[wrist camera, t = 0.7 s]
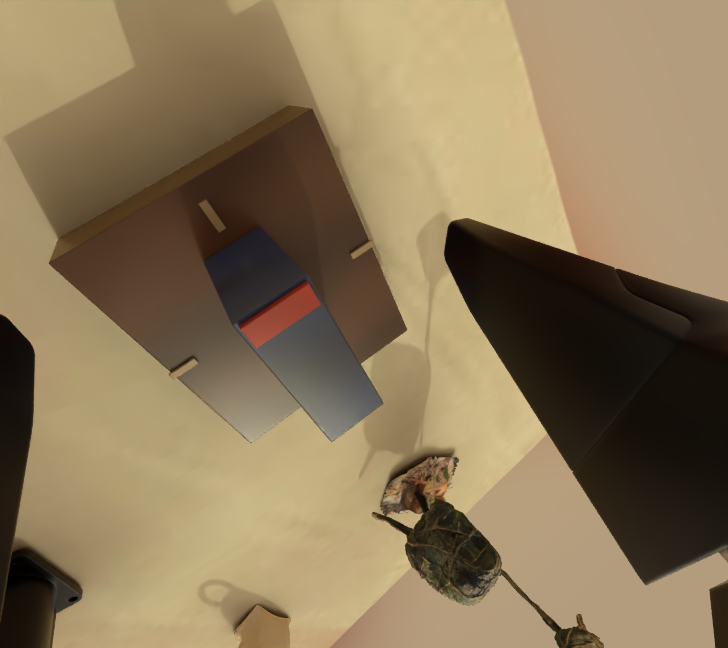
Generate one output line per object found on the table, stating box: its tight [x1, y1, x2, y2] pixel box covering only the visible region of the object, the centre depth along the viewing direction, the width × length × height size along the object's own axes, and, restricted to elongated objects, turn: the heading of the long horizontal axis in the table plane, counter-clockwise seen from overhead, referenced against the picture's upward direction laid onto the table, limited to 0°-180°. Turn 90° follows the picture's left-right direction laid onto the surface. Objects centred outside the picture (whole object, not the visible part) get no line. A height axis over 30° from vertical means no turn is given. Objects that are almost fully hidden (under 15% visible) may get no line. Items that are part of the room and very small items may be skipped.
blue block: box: [204, 227, 383, 442], centre depth 18 cm, size 8×3×6 cm, turn 24°
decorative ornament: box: [235, 605, 291, 648], centre depth 37 cm, size 4×8×5 cm, turn 22°
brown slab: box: [49, 106, 407, 443], centre depth 21 cm, size 14×12×3 cm
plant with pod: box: [372, 456, 604, 648], centre depth 33 cm, size 8×11×20 cm
